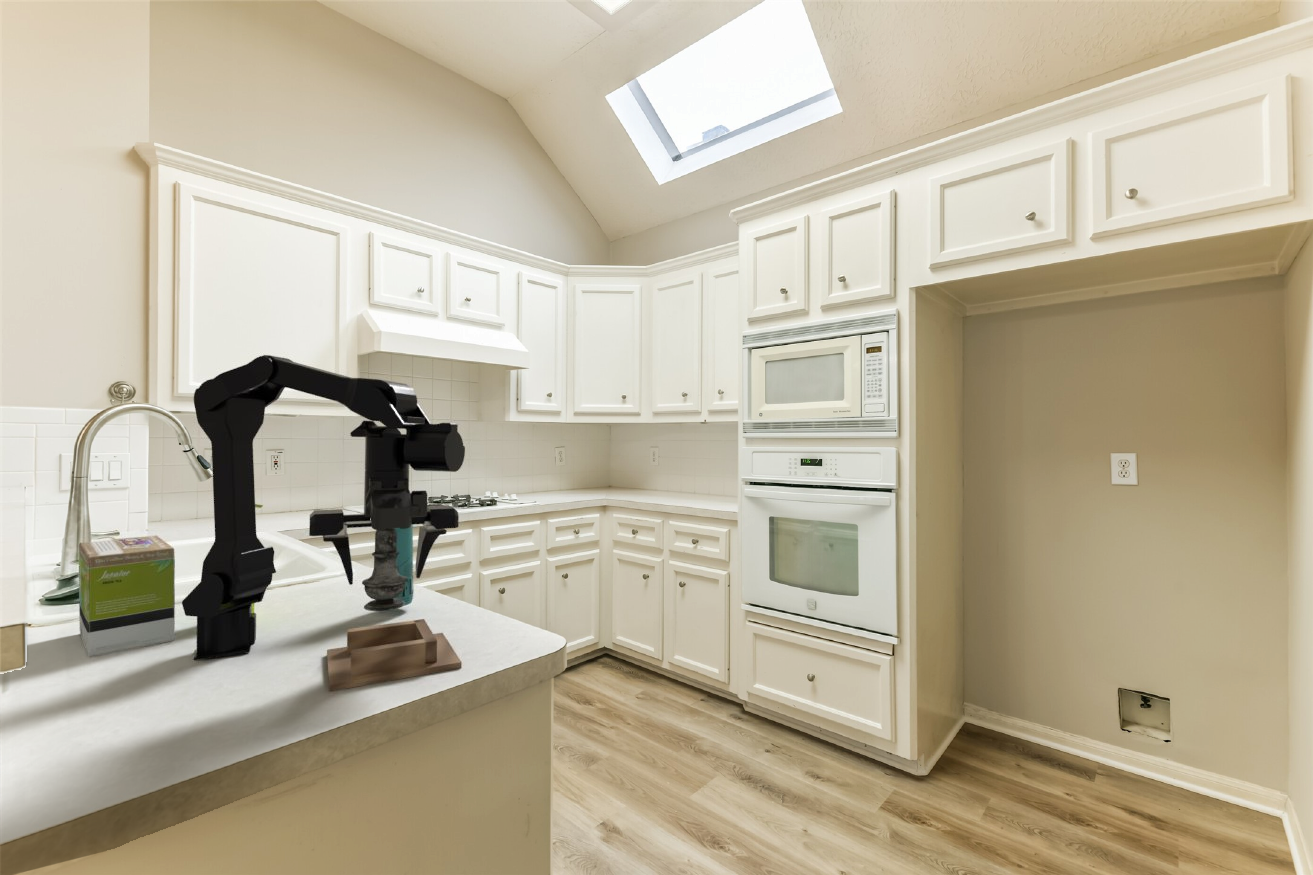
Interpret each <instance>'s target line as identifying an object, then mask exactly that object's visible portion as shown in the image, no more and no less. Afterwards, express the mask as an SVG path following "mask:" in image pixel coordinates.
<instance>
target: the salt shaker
mask: <svg viewBox="0 0 1313 875" xmlns="http://www.w3.org/2000/svg"><path fill="white" fill-rule="evenodd" d="M398 554H399V552H398V551H397V531H396V530H395V529H394V528H387V529H385V530H377V531H376V530H375V532H374V552H372V553H371V555H372V556H373V560H374V561H373V571H372V574H371V576H369V577H368V578H366V579H363V580H362V581H361V585H363V586H364V587H363V588H364V592H365V594H366V596H368V597H369V598H370V599H372V600H370V601H368V602H367V603H365V605H364V606H363V609H364V610H366V611H369V612H370V611H371V612H384V611H385V612H386V611H392V610H397V609H400V608H402V607H404V605H405V602H404V601H402V600H401V599H398V598H395V597H398V596H399V595H400V594H401V593H402V592H403V590H404V588H405V582H407V580H408V578H407V577H405V576H401V575H400V574H399V573H398V569H397V555H398ZM405 606H406V605H405Z"/></svg>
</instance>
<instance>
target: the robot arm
mask: <svg viewBox="0 0 1313 875" xmlns="http://www.w3.org/2000/svg"><path fill="white" fill-rule="evenodd" d="M286 388H287V389H291V390H293V391H298V392H302V393H306V394H308V395H312V396H316V397H320V398H323V399H327V400H329V401H334V402H337V403H339V404H341V405H343V406H344V407H346V408H347V409H349V411H350V412H353V413H355V414H357V415H358V416H361V417H363V418H364V419H367V420H362V421H361V423H360V425H359V426H358V427H356V428H354V429H353V430H352V431H351V432H350V437H351V438H364V439H365V442H364V445H365V446H364V450H365V451H364V490H363V494H364V496H363V497H364V498H363V513H360V514H359V513H356V514H355V513H354V514H344V511H343V509H341V508H340V509H339V508H337V509H315V510H313V511H312V512H311V513H310V514H309V528H308V529H309V531H308V532H309V534H308V535H309V536H310V537H318V536H319V537H322V541H323V542H326V543H329V542H330V543H332V544H333V546H334V548H335V549H336V551H337V553H338V555H339V558H340V561H341V564H342V567H343V569H344V572H345V575H346V579H347V581H348V584H349V585H351V586H352V585H353V583H354V572H353V564H352V557H351V556H352V555H351V549H350V548H351V547H350V540H349V535H348V529H355V528H372V529H373V530H375V531H376V530H385V529H387V528H400V529H407V528H410V527H411V525H413V526H414V525H420V526H419V527H418V528H419V530H418V538H417V546H416V547H417V549H416V557H415V578H416V579H421V575H422V574H423V570H424V567H425V565H426V562H427V559H428V556H429V554H430V552H431V550H432V547H433V545H434V544H435V541H437V539H438V538H439V536H441V535H447V530H448V529H456V528H459V518H460V516H459V512H458V510H456V508H454V506H453V507H452V506H450V505H449V504H448V505H447V504H445V505H444V504H443V505H439V504H438V505H428V492H427V490H412V491H410V467H411V469H412V470H414V471H416V472H418V471H419V472H445V473H448V472H449V473H451V472H452V473H453V472H455V473H456V472H458V471H459V470H460V469H461V468H462V465H463V463H464V460H465V455H466V453H465V452H466V447H465V446H464V441H463V439H462V436H461V434H460V433H459V432H458V431H459V430H458V426H459V424H457V423H456V422H455V423H454V422H440V423H432V422H431V421H430V419H429V418H428V417H427V415H426V413H425V412H424V410H423V409H422V407H421V406H420V404H419V402H418V396H417V394H416V392H415V390H414V388H413V387H412V386H410V385H408V384H407V383H402V382H396V381H389V380H383V379H379V378H364V377H349V376H347V375H343V374H339V373H337V372H332V371H328V370H325V369H321V368H316V367H313V366H310V365H306V364H302V363H298V362H295V361H293V360H291V359H290V358H288V357H287V358H286V357H280V356H275V355H270V354H263V355H261V356H260V355H259V356H258V357H255V358H253V360H251V361H249V362H247V363H246V364H244V365H243V364H242V365H241V366H239V367H238V366H237V367H235V368H232V369H229V370H227V371H224V372H221V373H220V374H218V375H216V376H214V378H210V379H207V380H205V381H203V382H202V383H201V384H200V385H199V387H198V388H196V389H195V391H194V394H193V404H194V405H193V406H194V410H195V415H196V420H197V423H198V425H199V427H200V428H201V429H202V431H203V432H204V434H205V435H206V436H207V438H208V439H209V440H210V444H211V465H212V468H211V469H212V490H213V491H212V492H213V518H214V521H213V522H214V542H213V544H212V545H211V548H210V549H209V551H208V552H207V554H206V556H205V558H204V559H203V562H202V570H201V575H200V576H201V577H200V582H199V583H198V584H197V585H196V586H195V587H194V588H193V590H192V591H191V592H190V593H188V595H187V596H185V598H183V600H182V601H181V605H182V608H183V612H184V615H185V616H187V617H196V652H195V653H194V655H193V661H200V660H201V661H202V660H206V659H214V658H221V657H228V656H235V655H242V654H248V653H250V652H251V649H252V646H254V644H256V640H257V613H256V612H254V613H252V604H253V603H254V604H256V603H260V602H263V599H264V597H265V596H264V595H265V593H266V590H267V588H268V587H269V586H270V585H271V584H272V581H273V574H276V573H277V570H276V567H275V564H274V563H275V561H274V560H275V550H274V549H275V548H274V546H267V547H265V546H264V544H263V543H262V542H261V541H260V539H259V538H258V535H257V522H256V520H257V519H256V514H257V513H256V507H255V504H256V496H255V495H256V493H255V492H256V489H255V474H254V473H255V468H254V466H255V465H254V440H255V437H256V436H257V434H258V433H259V431H260V429H261V428H262V426H263V424H264V419H265V412H266V408H267V407H268V406H270V405H271V404H273V403H275V402H276V401H277V400H278V399H279V398H280V397H281V395H282V393H283V391H284V390H285V389H286ZM376 422H380V423H381V424H383V425H377V424H376ZM399 429H400V430H401V429H402V430H403V429H404V430H405V431H406V432H405V434H404V433H402V432H401V431H400V430H399ZM421 525H422V526H421Z"/></svg>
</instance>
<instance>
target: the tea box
mask: <svg viewBox="0 0 1313 875" xmlns="http://www.w3.org/2000/svg"><path fill="white" fill-rule="evenodd" d="M175 557H176V556H175V548H174V547H173V546H171V545H170V544H169V543H167V542H166V541H165V540H163V539H162V538H161V537H159V535H149V536H147V535H146V536H136V537H135V536H134V537H124V538H113V539H105V540H97V541H95V540H94V541H87V542H80V543H79V544H78V582H79V583H78V584H79V585H78V586H79V587H78V588H79V591H78V592H79V593H78V598H79V599H78V600H79V602H78V603H79V604H78V606H79V613H78V614H79V617H78V618H79V634H80V637H81V640H82V642H83V646H84V647H85V648H84V649H85V651H86V654H87V656H88V657H89V658H92V657H98V656H103V655H104V656H105V655H108V654H113V653H119V652H123V651H129V650H134V649H138V648H144V647H149V646H154V645H158V644H163V643H167V642H172V641H173V640H175V628H176V626H175V624H176V621H175V620H176V619H175V617H176V616H175V613H176V612H175V610H176V609H175V607H176V606H175V604H176V602H175V601H176V600H175V599H176V598H175V595H176V594H175V593H176V592H175V589H176V588H175V586H176V585H175V580H176V579H175V577H176V576H175V574H176V573H175V567H176V566H175V562H176V561H175V559H176V558H175Z"/></svg>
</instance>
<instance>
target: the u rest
mask: <svg viewBox="0 0 1313 875" xmlns="http://www.w3.org/2000/svg"><path fill="white" fill-rule="evenodd" d="M346 631H347V632H346V646H343V647H335V648H329V649H326V660H327V661H326V662H327V676H328V690H329V691H328V692H334V691H340V690H344V689H349V688H350V689H351V688H356V687H360V686H366V685H367V686H368V685H372V684H379V683H384V682H389V681H395V680H400V679H406V678H412V677H418V676H424V675H427V674H434V673H435V674H436V673H440V672H445V671H451V670H458V669H461V668H462V664H463V663H462V660H461V659H460V658H459V656H458V654H457V652H456V651H455V650H454V648H453V647H452V645H451V644H450V642H449V640H448V639H447V637H446V636H445V634H444V633H443V632H438V633H434V632H433V631H432V629H431V628H430V626H429V625H428V623H427V621H426V619H424V618H421V619H414V620H406V621H399V622H393V623H385V624H378V625H377V624H376V625H371V626H362V627H356V628H355V627H354V628H348V629H346Z"/></svg>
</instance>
